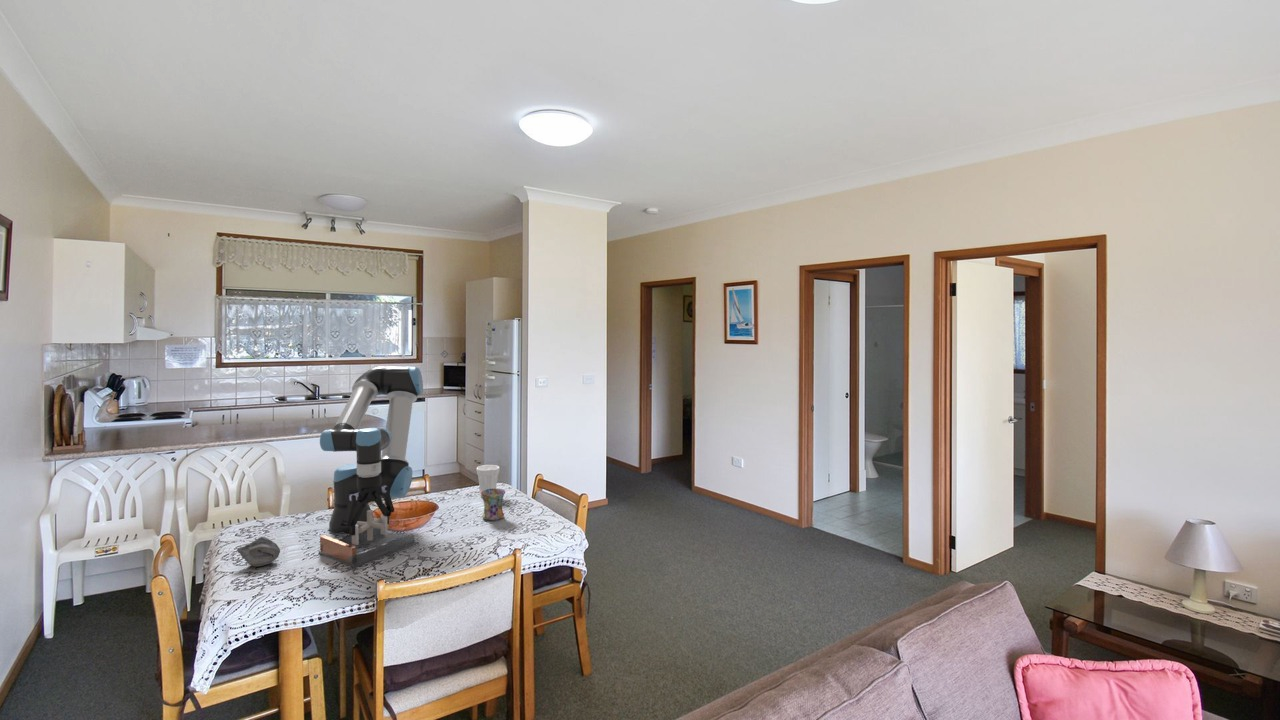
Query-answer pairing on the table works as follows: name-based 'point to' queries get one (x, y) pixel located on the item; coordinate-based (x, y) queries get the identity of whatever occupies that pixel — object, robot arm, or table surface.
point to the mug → (493, 503)
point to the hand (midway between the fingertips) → (369, 538)
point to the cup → (487, 476)
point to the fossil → (260, 552)
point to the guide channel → (364, 547)
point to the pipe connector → (369, 525)
